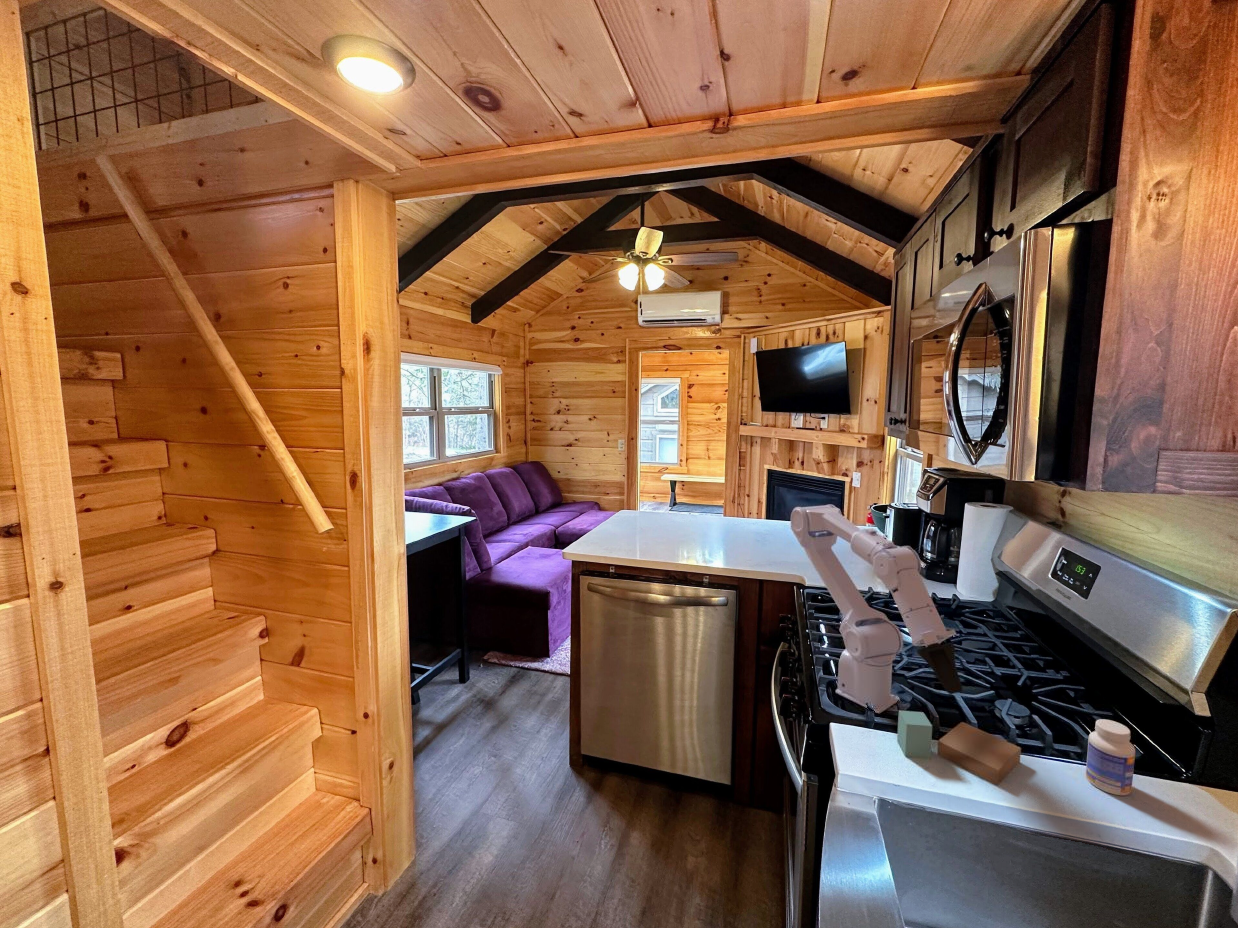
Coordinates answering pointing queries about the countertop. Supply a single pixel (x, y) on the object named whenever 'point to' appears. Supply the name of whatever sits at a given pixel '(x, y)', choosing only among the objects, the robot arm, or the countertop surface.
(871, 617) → the robot arm
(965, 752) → the walnut block
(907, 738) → the gray-green block
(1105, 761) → the pill bottle
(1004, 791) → the countertop surface
